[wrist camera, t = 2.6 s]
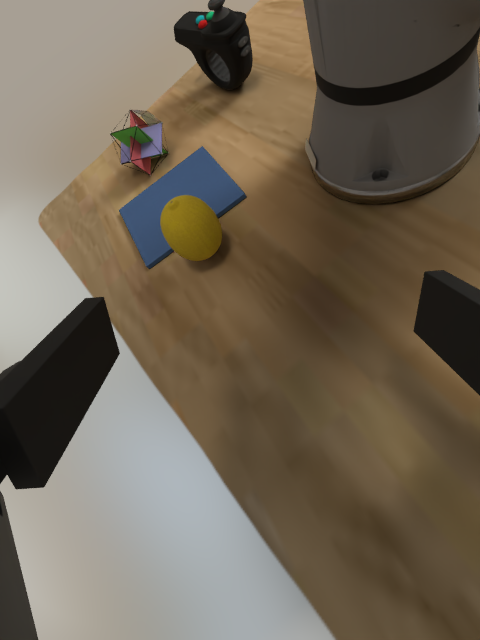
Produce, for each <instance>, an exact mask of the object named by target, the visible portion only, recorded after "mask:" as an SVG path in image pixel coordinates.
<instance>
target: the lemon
mask: <svg viewBox="0 0 480 640" xmlns="http://www.w3.org/2000/svg"><path fill="white" fill-rule="evenodd" d="M160 225H161V230H162V233H163V235H164V237H165V239H166V241H167V242H168V244H169V246H170V247H171V248H172V249H173V250H174V251H175V252H176V253H177V254H179V255H180V256H181V257H183V258H186V259H188V260H192V261H201V260H205V259H207V258H209V257H211V256H212V255H213V254H214V253H215V252H216V251H217V250H218V248H219V246H220V244H221V240H222V229H221V224H220V222H219V220H218V218H217V216H216V214H215V212H214V211H213V210H212V209H211V208H210V207H209V206H208V205H207V204H206V203H205V202H204V201H202V200H201V199H199V198H197V197H194V196H191V195H181V196H177V197H175V198H173V199H171V200H170V201H169V202H168V203H167V204H166V205H165V207H164V208H163V211H162V213H161V218H160Z"/></svg>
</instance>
